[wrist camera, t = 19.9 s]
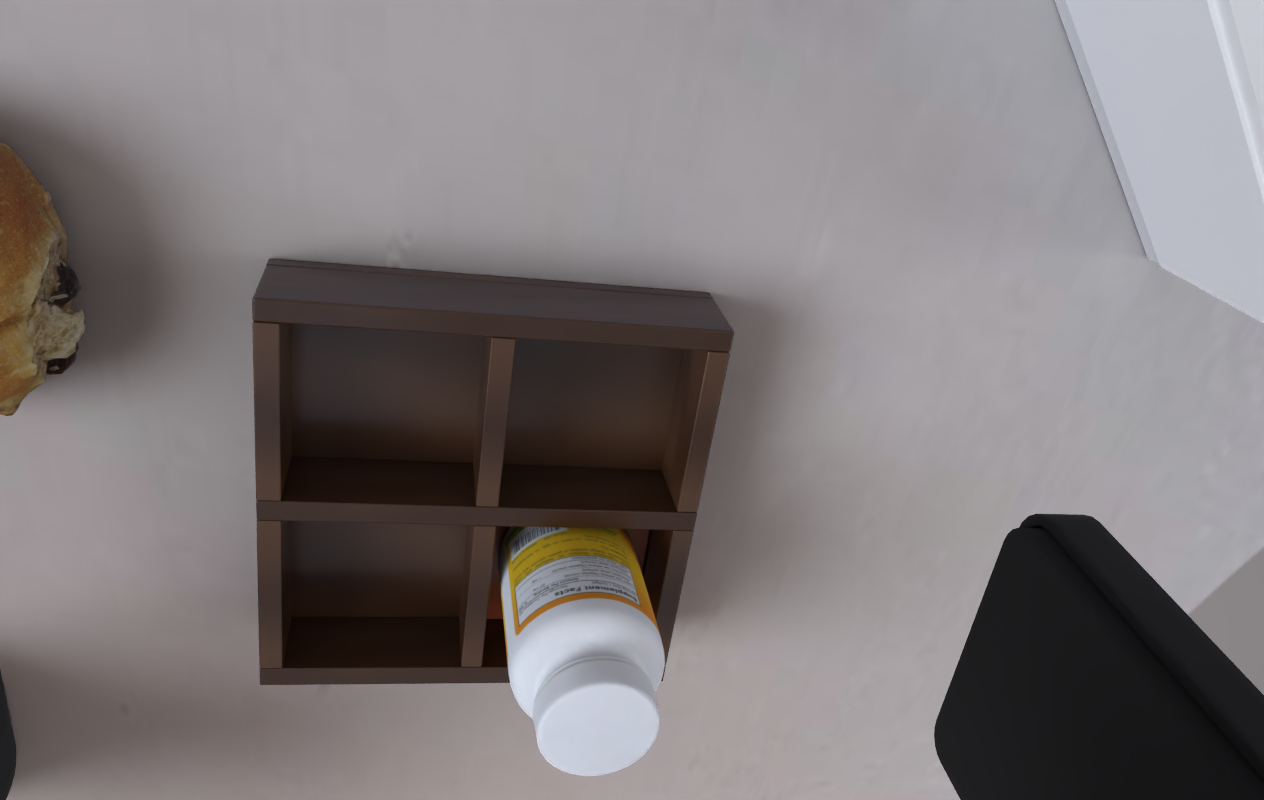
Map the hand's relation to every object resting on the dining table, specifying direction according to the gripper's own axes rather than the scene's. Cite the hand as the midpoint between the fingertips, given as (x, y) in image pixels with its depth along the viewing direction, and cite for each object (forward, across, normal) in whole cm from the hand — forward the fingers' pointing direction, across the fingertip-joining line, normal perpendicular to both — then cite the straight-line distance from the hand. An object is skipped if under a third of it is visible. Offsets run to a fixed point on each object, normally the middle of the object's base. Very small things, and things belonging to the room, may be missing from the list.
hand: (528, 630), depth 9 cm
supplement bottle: (+25, -5, +18) cm, 32 cm away
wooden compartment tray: (+26, -1, +15) cm, 30 cm away
